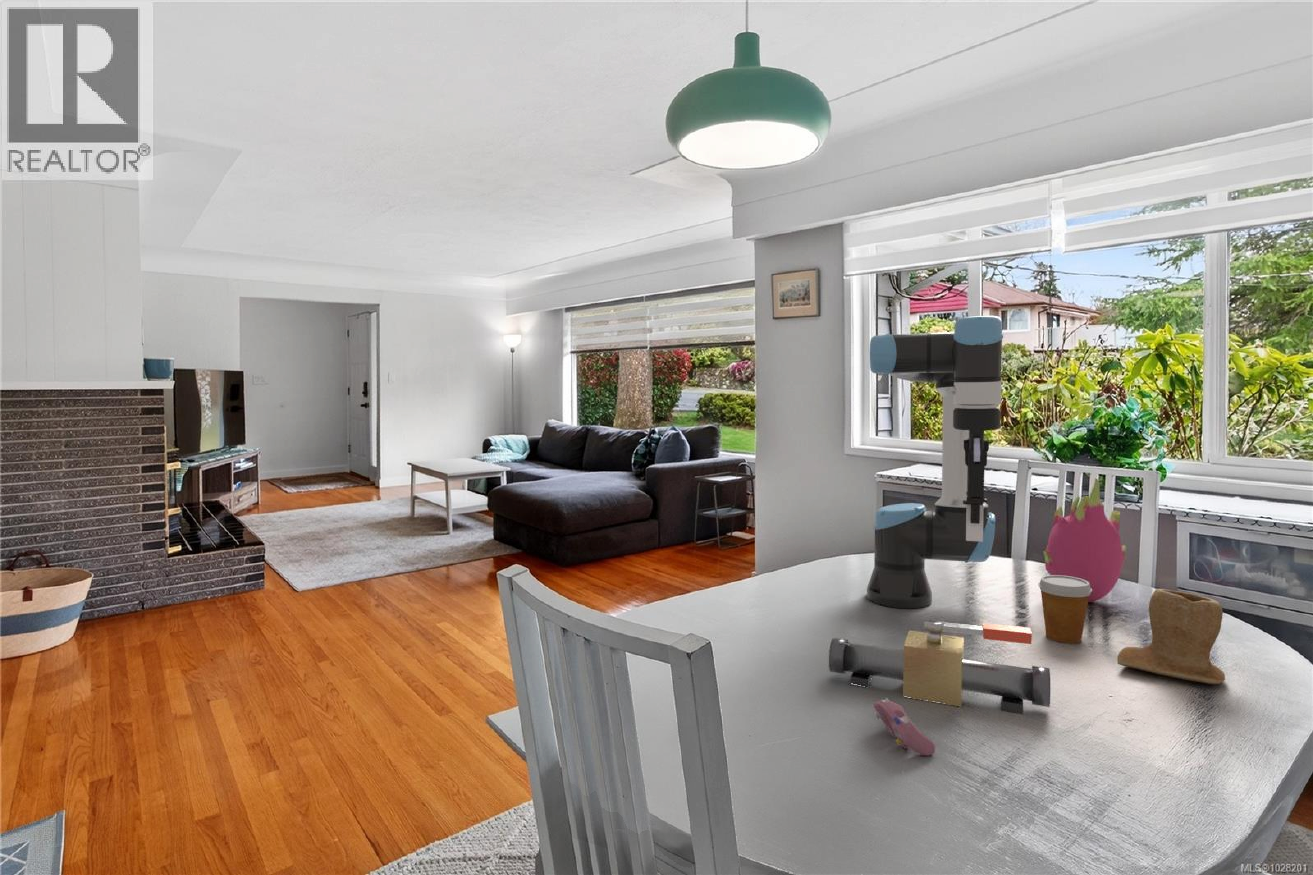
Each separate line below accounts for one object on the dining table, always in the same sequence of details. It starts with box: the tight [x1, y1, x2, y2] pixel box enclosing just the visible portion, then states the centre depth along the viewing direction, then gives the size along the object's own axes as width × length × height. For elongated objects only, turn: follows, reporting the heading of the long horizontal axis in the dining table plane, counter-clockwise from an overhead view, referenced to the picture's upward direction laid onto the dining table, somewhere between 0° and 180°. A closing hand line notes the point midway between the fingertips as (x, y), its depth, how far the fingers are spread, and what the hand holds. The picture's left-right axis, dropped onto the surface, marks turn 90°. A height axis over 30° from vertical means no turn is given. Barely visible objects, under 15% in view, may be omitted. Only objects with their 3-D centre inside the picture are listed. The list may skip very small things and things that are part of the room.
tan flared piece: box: [1116, 588, 1226, 685], centre depth 126 cm, size 15×12×15 cm
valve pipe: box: [828, 630, 1051, 715], centre depth 119 cm, size 8×34×11 cm, turn 64°
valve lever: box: [923, 619, 1033, 645], centre depth 117 cm, size 16×3×2 cm, turn 68°
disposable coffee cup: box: [1037, 574, 1092, 644], centre depth 144 cm, size 10×10×12 cm
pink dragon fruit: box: [1043, 478, 1127, 603], centre depth 166 cm, size 18×14×30 cm
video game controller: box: [873, 697, 936, 757], centre depth 104 cm, size 10×5×7 cm, turn 6°
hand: (974, 540), depth 123 cm, fingers closed
